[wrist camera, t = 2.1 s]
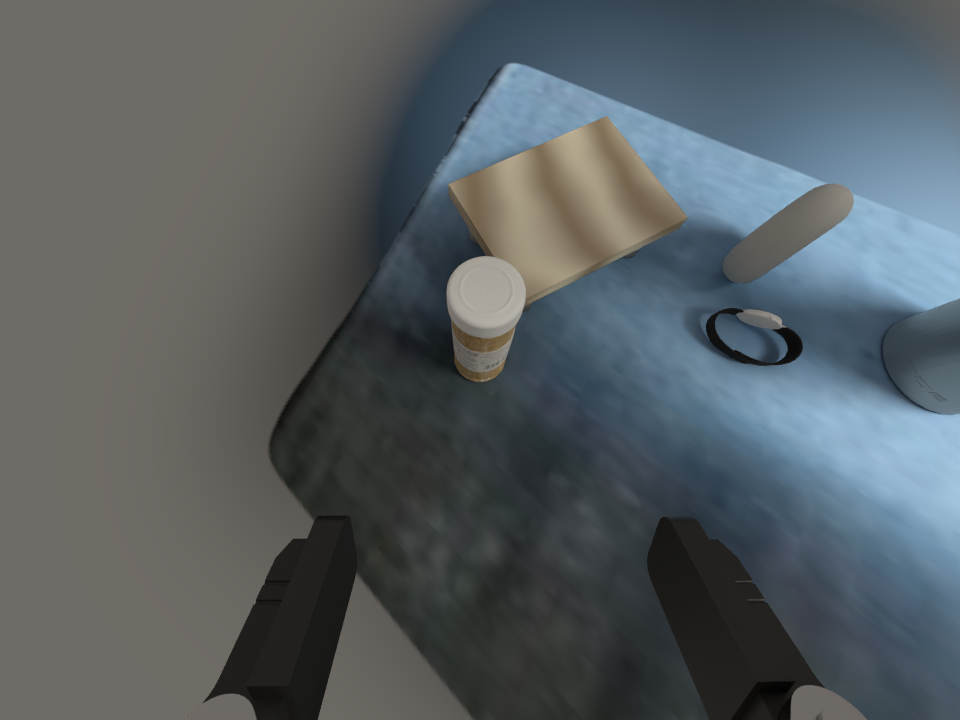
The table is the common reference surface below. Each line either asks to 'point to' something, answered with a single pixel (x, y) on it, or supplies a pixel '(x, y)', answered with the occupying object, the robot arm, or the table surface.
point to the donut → (788, 232)
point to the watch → (761, 321)
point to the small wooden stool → (566, 207)
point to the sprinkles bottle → (484, 314)
